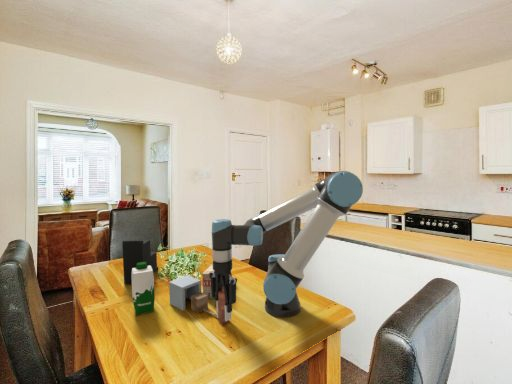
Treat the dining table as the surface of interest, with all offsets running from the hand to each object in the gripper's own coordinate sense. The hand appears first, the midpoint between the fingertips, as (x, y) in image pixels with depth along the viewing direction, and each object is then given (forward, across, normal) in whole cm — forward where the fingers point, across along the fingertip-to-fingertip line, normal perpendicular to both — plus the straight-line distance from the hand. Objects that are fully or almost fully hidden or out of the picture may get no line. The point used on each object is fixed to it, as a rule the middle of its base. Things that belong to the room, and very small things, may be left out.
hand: (224, 317), depth 109 cm
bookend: (+2, +73, -4) cm, 73 cm away
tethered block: (+2, +8, 0) cm, 8 cm away
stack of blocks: (+2, +25, -19) cm, 31 cm away
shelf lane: (+2, +25, 0) cm, 25 cm away
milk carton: (+2, +34, +15) cm, 37 cm away
